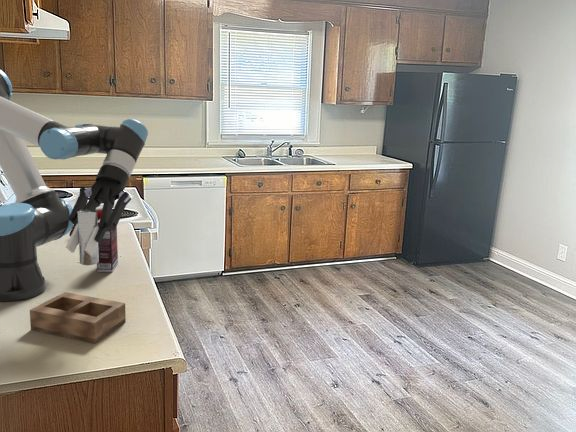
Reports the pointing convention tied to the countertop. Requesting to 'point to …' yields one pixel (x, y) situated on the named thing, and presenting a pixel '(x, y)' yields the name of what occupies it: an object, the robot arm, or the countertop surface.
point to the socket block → (78, 317)
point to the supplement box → (108, 251)
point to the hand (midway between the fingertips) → (79, 251)
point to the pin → (87, 235)
